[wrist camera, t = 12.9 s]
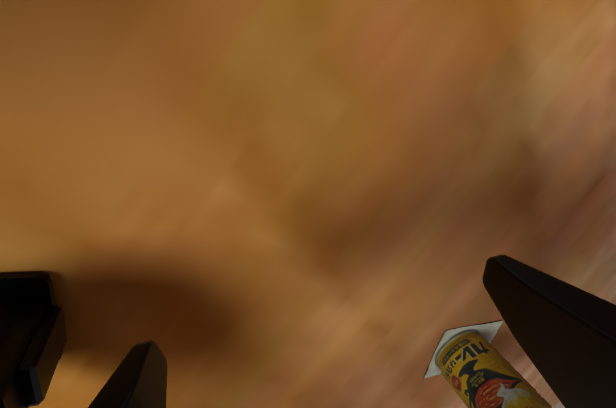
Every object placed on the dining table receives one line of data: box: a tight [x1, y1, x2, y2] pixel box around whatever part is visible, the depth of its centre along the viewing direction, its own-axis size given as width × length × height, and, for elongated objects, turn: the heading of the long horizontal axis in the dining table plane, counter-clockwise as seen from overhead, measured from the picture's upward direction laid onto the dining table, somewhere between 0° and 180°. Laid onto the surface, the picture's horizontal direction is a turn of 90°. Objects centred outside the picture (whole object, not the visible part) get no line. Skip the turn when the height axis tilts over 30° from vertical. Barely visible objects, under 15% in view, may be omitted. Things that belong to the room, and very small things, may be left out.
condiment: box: [424, 320, 552, 408], centre depth 32 cm, size 7×8×12 cm
